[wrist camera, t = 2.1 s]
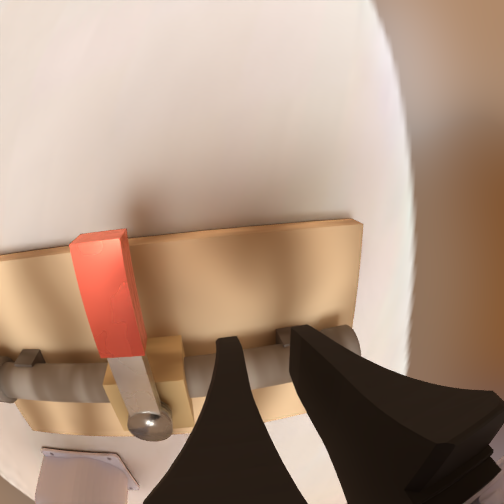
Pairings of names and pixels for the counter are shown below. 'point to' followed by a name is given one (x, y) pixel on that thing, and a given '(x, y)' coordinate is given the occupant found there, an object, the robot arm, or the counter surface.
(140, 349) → the valve lever
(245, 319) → the valve board
